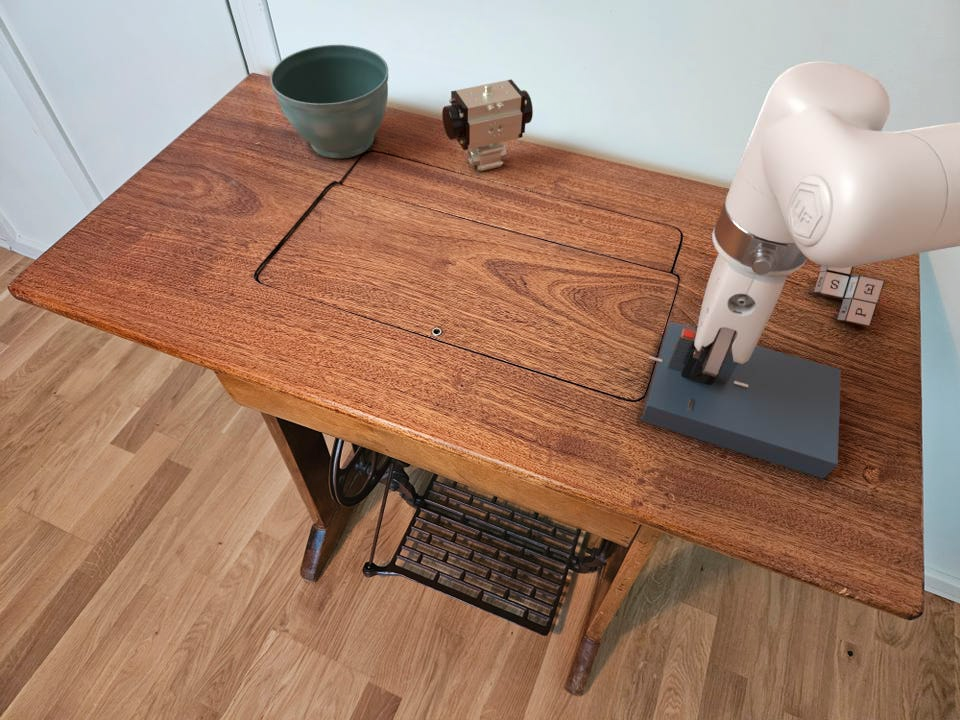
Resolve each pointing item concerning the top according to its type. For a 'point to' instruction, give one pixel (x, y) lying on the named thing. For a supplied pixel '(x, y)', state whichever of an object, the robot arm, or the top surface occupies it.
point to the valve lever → (687, 344)
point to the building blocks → (850, 293)
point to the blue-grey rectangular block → (754, 407)
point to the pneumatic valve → (487, 120)
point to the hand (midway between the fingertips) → (698, 368)
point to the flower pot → (333, 97)
